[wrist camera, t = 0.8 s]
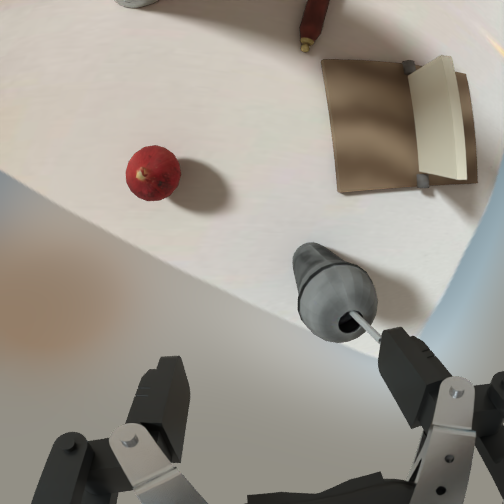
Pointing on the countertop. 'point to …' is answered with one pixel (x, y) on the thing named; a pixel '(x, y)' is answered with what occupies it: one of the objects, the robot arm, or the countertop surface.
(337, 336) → the beverage cup
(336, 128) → the walnut board
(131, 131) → the countertop surface
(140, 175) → the onion
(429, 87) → the tile
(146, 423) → the robot arm
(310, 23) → the gavel
